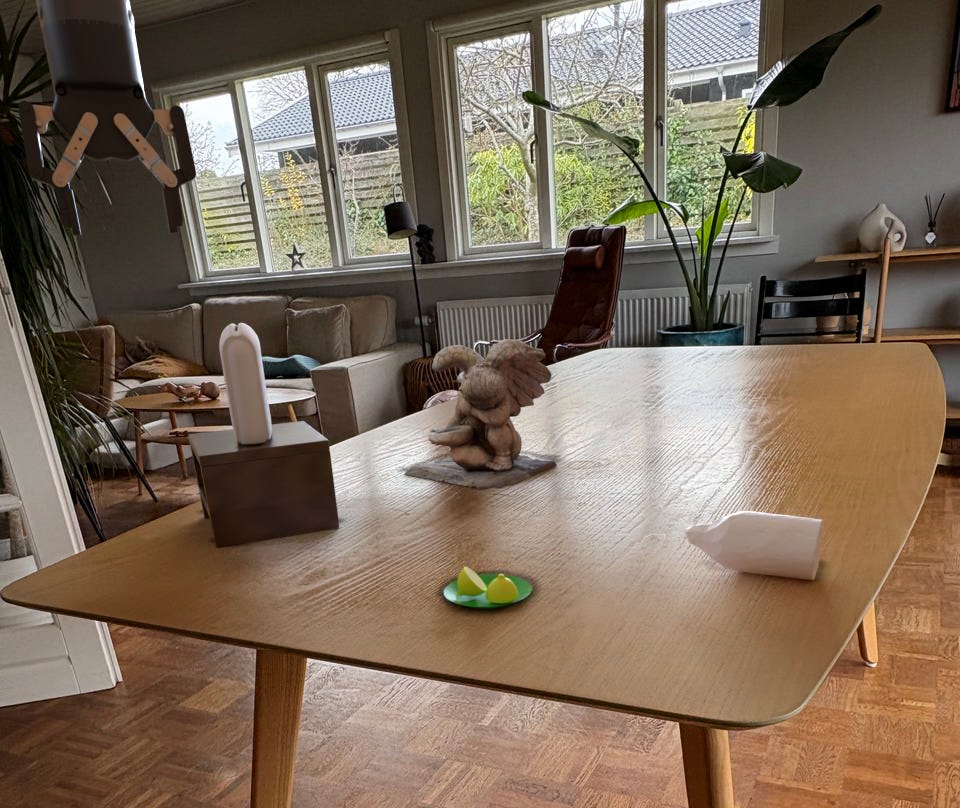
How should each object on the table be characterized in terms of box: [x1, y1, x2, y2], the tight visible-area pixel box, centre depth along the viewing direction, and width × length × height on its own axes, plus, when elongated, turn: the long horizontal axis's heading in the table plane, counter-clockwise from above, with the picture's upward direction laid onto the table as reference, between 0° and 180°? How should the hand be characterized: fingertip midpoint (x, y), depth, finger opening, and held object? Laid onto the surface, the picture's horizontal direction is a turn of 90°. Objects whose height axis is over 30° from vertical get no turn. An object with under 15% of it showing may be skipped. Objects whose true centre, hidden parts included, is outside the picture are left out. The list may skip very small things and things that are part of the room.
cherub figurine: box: [403, 338, 557, 490], centre depth 116 cm, size 18×18×18 cm
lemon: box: [443, 566, 533, 610], centre depth 75 cm, size 8×8×3 cm
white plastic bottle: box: [684, 510, 825, 581], centre depth 77 cm, size 6×12×6 cm, turn 63°
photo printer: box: [218, 322, 273, 444], centre depth 94 cm, size 10×4×12 cm, turn 13°
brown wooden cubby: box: [187, 420, 340, 548], centre depth 99 cm, size 14×14×10 cm
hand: (125, 234), depth 79 cm, fingers open, 8 cm apart
